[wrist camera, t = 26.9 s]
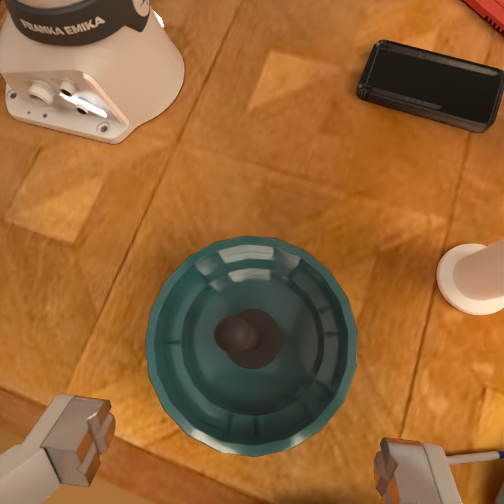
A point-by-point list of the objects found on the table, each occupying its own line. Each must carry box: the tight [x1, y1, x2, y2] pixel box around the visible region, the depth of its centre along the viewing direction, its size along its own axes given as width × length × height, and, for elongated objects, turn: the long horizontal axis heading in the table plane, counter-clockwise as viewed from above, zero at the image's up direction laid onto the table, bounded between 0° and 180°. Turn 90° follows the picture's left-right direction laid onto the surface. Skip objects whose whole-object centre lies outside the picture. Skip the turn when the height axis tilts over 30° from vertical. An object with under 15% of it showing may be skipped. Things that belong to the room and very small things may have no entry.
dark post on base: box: [214, 309, 282, 369], centre depth 26 cm, size 5×5×18 cm
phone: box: [357, 40, 504, 133], centre depth 40 cm, size 8×1×15 cm
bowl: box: [145, 236, 358, 457], centre depth 32 cm, size 18×18×6 cm
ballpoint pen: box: [446, 451, 504, 464], centre depth 31 cm, size 10×1×1 cm, turn 95°
